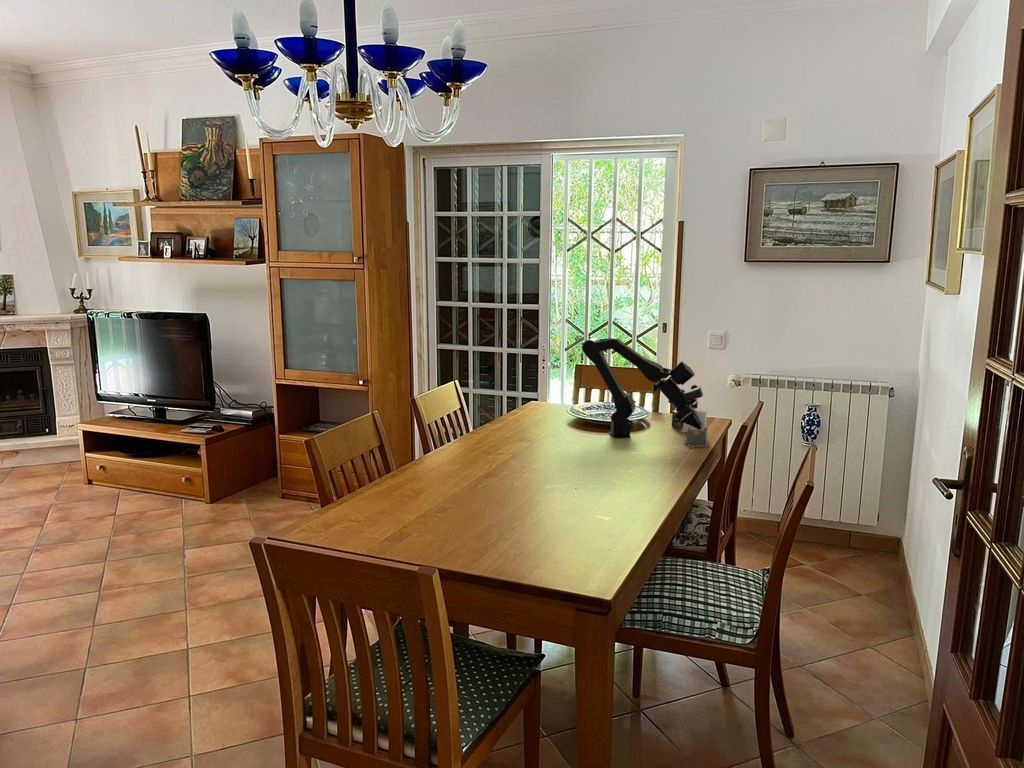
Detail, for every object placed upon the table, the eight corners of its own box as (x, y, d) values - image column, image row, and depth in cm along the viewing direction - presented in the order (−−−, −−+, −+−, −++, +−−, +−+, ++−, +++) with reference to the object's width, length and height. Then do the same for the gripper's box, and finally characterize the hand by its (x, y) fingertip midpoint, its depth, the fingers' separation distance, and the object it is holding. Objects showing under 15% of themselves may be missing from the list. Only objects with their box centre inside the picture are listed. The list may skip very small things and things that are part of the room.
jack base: (682, 446, 266) (683, 430, 264) (685, 439, 274) (686, 424, 273) (708, 449, 263) (709, 433, 261) (710, 442, 271) (711, 427, 270)
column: (688, 443, 267) (691, 410, 264) (690, 439, 271) (692, 407, 269) (703, 444, 265) (705, 412, 262) (704, 440, 270) (707, 408, 267)
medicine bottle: (671, 428, 289) (673, 398, 286) (685, 426, 292) (687, 396, 289) (682, 432, 283) (684, 402, 280) (697, 431, 286) (699, 400, 283)
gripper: (687, 384, 256) (717, 418, 255) (693, 374, 273) (721, 406, 272) (662, 403, 260) (692, 437, 259) (670, 392, 277) (698, 424, 276)
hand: (702, 425), depth 266 cm, fingers open, 9 cm apart
